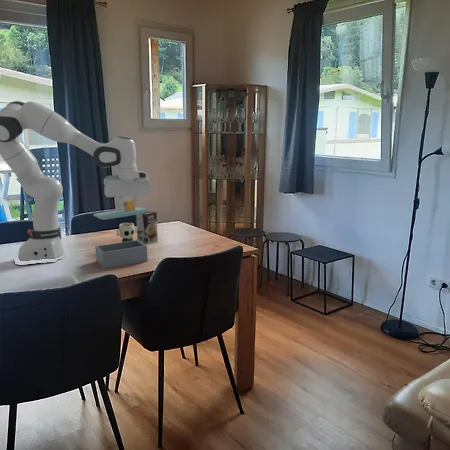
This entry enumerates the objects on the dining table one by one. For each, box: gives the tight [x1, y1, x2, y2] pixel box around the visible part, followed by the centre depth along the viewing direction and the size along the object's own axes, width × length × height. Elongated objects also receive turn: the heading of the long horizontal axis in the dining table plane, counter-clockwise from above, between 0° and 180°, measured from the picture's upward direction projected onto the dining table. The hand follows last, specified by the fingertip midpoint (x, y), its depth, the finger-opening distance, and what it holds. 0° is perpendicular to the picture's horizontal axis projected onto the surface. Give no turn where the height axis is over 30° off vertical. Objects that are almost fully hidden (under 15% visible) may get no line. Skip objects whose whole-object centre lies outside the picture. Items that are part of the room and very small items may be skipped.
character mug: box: [116, 222, 137, 242], centre depth 220 cm, size 11×7×13 cm, turn 127°
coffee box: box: [135, 210, 159, 246], centre depth 232 cm, size 9×6×16 cm
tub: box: [94, 239, 149, 270], centre depth 200 cm, size 20×12×8 cm, turn 120°
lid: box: [93, 199, 148, 221], centre depth 195 cm, size 20×12×6 cm, turn 120°
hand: (128, 205), depth 197 cm, fingers closed on lid, 3 cm apart
